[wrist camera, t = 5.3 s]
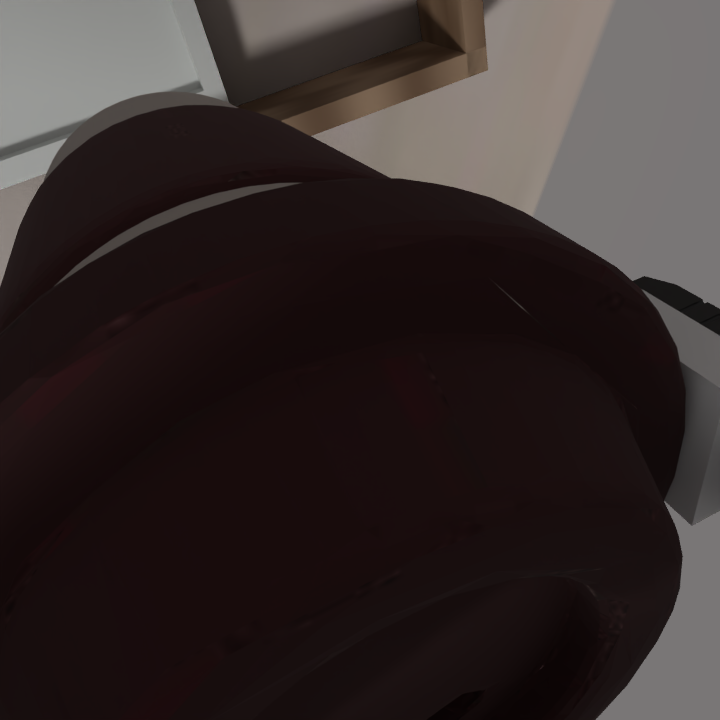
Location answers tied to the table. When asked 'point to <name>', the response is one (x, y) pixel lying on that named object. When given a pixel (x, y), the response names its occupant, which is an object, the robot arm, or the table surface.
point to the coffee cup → (319, 440)
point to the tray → (89, 68)
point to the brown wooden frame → (388, 72)
